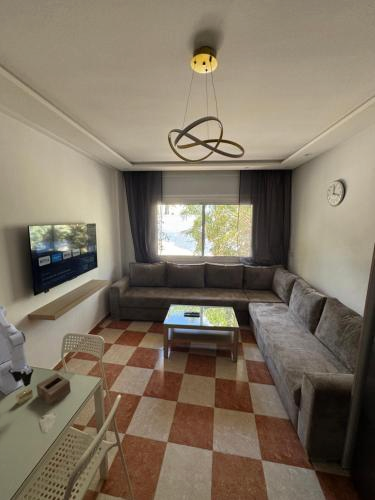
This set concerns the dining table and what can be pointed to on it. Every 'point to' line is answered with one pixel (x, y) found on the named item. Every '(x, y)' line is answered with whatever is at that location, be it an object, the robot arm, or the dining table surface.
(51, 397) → the box
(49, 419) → the arrowhead
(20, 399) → the gold metal block
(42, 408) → the dining table surface
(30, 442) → the dining table surface
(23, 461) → the dining table surface
